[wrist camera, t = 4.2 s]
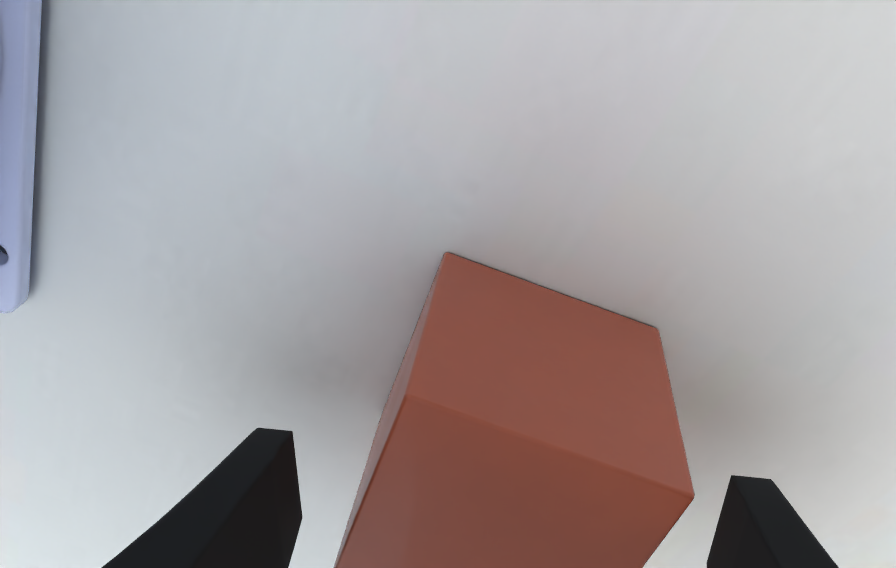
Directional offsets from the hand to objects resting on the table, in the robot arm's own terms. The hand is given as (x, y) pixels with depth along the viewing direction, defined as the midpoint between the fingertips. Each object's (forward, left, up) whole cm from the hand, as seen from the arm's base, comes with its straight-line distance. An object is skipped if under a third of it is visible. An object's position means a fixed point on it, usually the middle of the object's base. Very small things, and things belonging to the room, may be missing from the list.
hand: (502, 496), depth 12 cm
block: (0, 0, -3) cm, 3 cm away
